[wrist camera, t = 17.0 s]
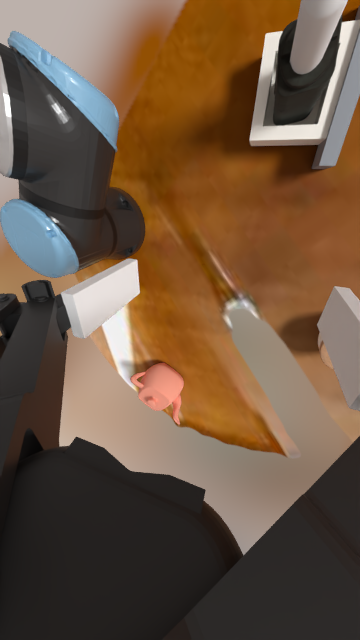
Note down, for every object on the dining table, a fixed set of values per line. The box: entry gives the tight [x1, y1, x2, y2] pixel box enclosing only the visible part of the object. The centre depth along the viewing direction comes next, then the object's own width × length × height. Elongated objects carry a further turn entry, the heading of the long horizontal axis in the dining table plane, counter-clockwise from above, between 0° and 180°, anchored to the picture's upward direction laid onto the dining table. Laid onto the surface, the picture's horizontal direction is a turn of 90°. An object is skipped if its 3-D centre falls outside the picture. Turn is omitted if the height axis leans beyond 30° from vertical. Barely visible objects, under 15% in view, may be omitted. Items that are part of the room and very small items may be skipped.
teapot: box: [131, 362, 184, 425], centre depth 66 cm, size 13×20×12 cm, turn 54°
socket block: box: [249, 20, 360, 146], centre depth 29 cm, size 10×10×5 cm
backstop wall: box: [311, 6, 360, 169], centre depth 27 cm, size 2×16×6 cm, turn 178°
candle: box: [273, 0, 348, 126], centre depth 20 cm, size 5×5×25 cm
